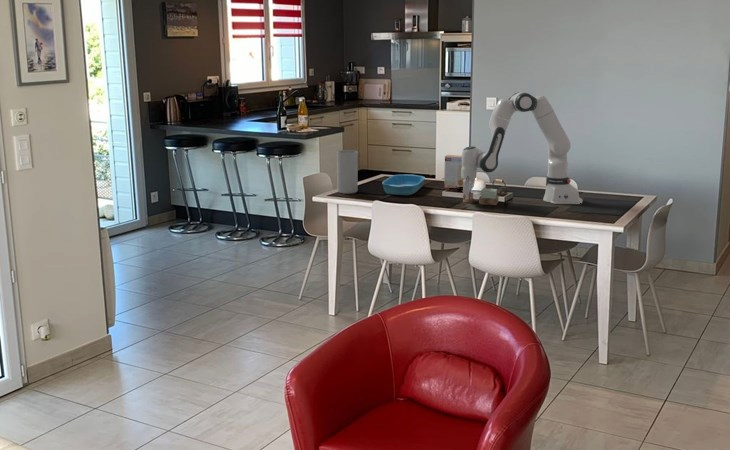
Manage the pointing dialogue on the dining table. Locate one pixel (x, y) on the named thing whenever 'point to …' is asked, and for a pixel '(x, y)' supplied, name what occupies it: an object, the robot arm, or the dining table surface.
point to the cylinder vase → (347, 171)
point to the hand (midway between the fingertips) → (468, 198)
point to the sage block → (488, 193)
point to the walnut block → (488, 201)
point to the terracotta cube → (469, 198)
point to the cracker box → (453, 172)
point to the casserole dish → (403, 184)
